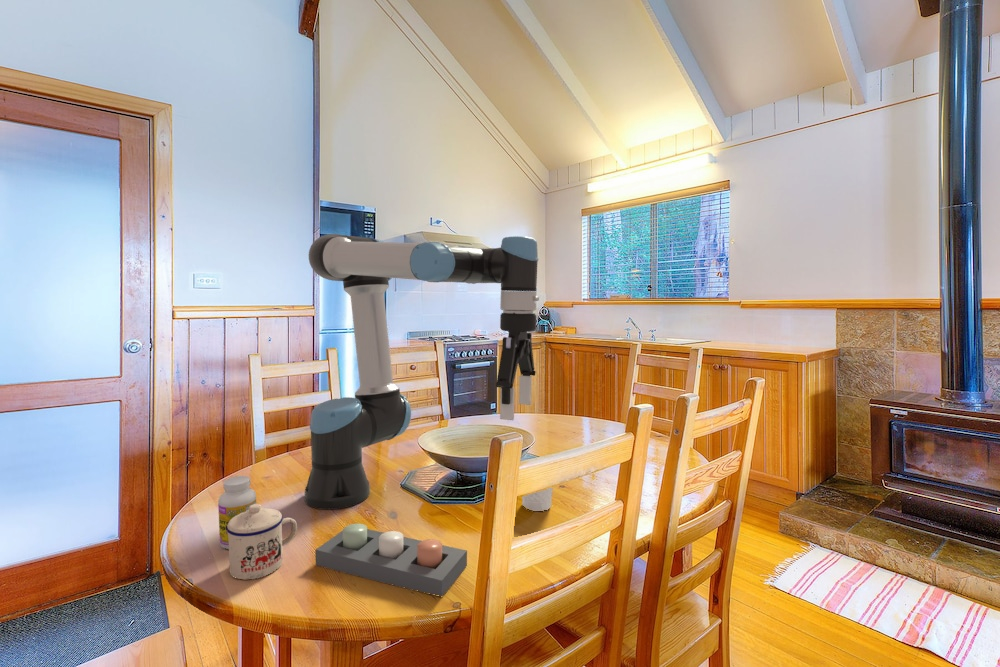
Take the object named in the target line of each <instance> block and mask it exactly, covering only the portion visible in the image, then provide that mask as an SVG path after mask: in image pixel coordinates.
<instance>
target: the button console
mask: <svg viewBox="0 0 1000 667" xmlns="http://www.w3.org/2000/svg"><path fill="white" fill-rule="evenodd" d="M383 533H385V532H383V531H379V530H375V529H368V528H367V544H366V545H365V546H364V547H362V548H361V549H360V550H358V551H356V550H352V549H347V548H343V530H341V531H340V532H339V533H336V535H334V536H333V537H331V538H330V539H329V540H327V541H326V542H324V543H322V545H319V547H317V548H316V549H315V552H314V553H315V566H317V565H318V566H317V567H320V566H321V568H324V567H325V569H328V568H329V570H333V571H335V572H336V571H337V572H341V573H344V574H348V575H352V576H355V575H357V576H356V577H359V576H360V578H364V579H368V580H372V581H375V580H376V581H375V582H379V581H380V583H383V582H384V583H383V584H387V583H389V584H388V585H390V584H393V585H392V586H394V585H396V586H395V587H398V586H400V587H399V588H402V587H405V588H404V589H406V588H408V589H407V590H410V589H413V590H412V591H414V590H418V591H421V592H420V593H422V592H425V593H430V594H435V595H439V596H443V594H444V593H445V592H446V591H447V590H448V591H449V589H450V588H451V587H452V586H453V585H454V583H455V582H456V581H455V580H458V578H459V577H460V576H461V574H463V572H464V570H465V569H466V568H467V567H466V566H468V550H466V549H462V548H457V547H453V546H447V545H444V544H442V563H441V564H440V565H439V566H438V567H437V568H436V569H432V568H428V567H424V566H420V565H417V545H418V544H419V543H420V542H421V541H422V540H420V539H415V538H411V537H406V536H403V551H404V552H403V553H402V554H401V555H400V556H399V557H398V558H397V559H396V560H394V559H390V558H386V557H381V556H379V536H380V535H381V534H383ZM451 585H452V586H451ZM450 586H451V587H450ZM418 591H417V592H418ZM448 591H447V592H448ZM447 592H446V593H447ZM425 593H424V594H425ZM446 593H445V594H446ZM443 597H444V596H443Z"/></svg>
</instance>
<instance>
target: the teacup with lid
mask: <svg viewBox="0 0 1000 667" xmlns="http://www.w3.org/2000/svg"><path fill="white" fill-rule="evenodd" d="M288 523H291V531H290V533H289V535H288V536H287V537H286V538H285V539H283V527H282V525H285V524H288ZM297 531H298V524H297V521H296V520H295V519H294V518H292V517H283V514H282V512H280V510H277V509H274V508H269V507H268V508H265V507H262V505H261V504H260V503H256V504H253V505H251V506H250V507H249V510H247V511H245V512H243V513H240V514H238V515H236V516H235V517H233V518H232V519H231V520H230V521H229V523H228V525H227V532H228V537H229V549H228V558H229V559H228V560H229V573H231V574H230V576H232V577H233V576H234V577H236V578H239V579H238V580H240V579H252V580H256V579H255V578H257V579H260V577H261V578H264V577H267V576H269V575H270V573H271V574H273V573H274V572H276V571H277V570H278V569H279V568H280V567H281V565H282V564H283V559H284V558H283V547H284V546H286V545H287V544H289V543H290V542H292V540H293V539H294V538H295V536H296V534H297ZM276 569H277V570H276ZM273 571H274V572H273ZM268 574H269V575H268ZM266 575H267V576H266ZM263 576H264V577H263ZM234 577H233V578H234ZM236 578H235V579H236Z"/></svg>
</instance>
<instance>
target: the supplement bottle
mask: <svg viewBox="0 0 1000 667" xmlns="http://www.w3.org/2000/svg"><path fill="white" fill-rule="evenodd" d="M222 483H223V485H222V487H223V490H224V492H223V493H221V495H220V496H219V498H218V501H217V502H218V504H217V505H218V526H219V527H218V528H219V529H218V531H219V545H220V547H222V548H223V549H225V548H226V549H225V550H229V537H228V532H227V525H228V523H229V521H230V520H231V519H232V518H233V517H235V516H236V515H238V514H240V513H243V512H245V511H247V510H249V507H250V506H251V505H253V504H257V493H256V490H254V489H252V488H250V485H251V478H250V476H247V475H237V476H232V477H229V478H227V479H225V480H224V481H223V482H222Z"/></svg>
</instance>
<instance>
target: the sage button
mask: <svg viewBox="0 0 1000 667" xmlns="http://www.w3.org/2000/svg"><path fill="white" fill-rule="evenodd" d="M367 529H368V526H367V525H366V524H363V523H352V524H348V525H346V526H345V527H344V528H343V529H342V531H343V548H347V549H352V550H356V551H358V550H360V549H361V548H362V547H364V546H365V545H366V544H367Z"/></svg>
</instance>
